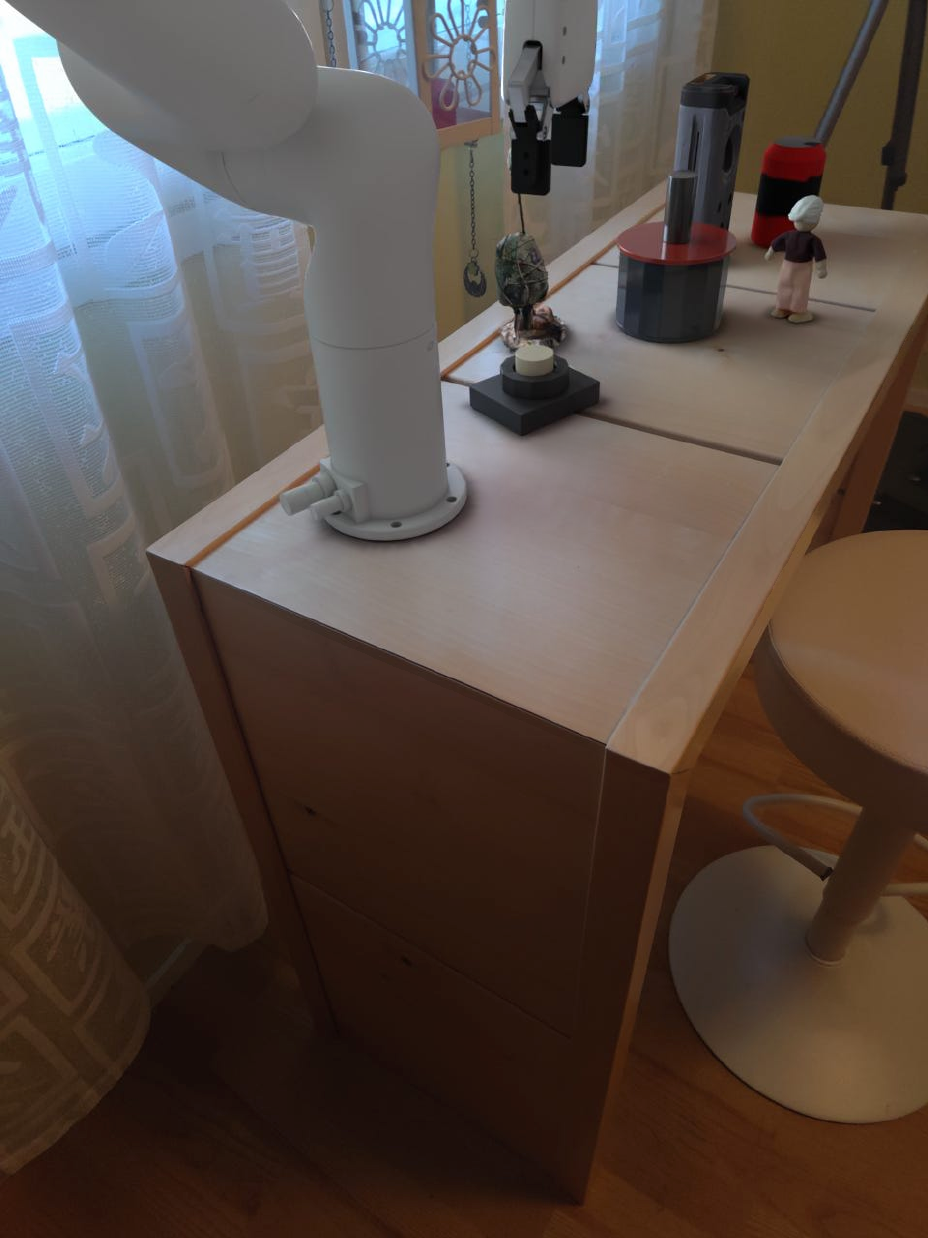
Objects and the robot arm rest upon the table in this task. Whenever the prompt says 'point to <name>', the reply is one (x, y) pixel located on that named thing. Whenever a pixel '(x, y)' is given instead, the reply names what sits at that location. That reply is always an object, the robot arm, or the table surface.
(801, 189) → the soda can
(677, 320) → the pot
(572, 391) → the control block
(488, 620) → the table surface
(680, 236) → the lid
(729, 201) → the electronic device
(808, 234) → the grandmother figurine
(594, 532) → the table surface
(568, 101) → the robot arm
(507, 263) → the plant with pod
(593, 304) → the table surface
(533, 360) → the button
